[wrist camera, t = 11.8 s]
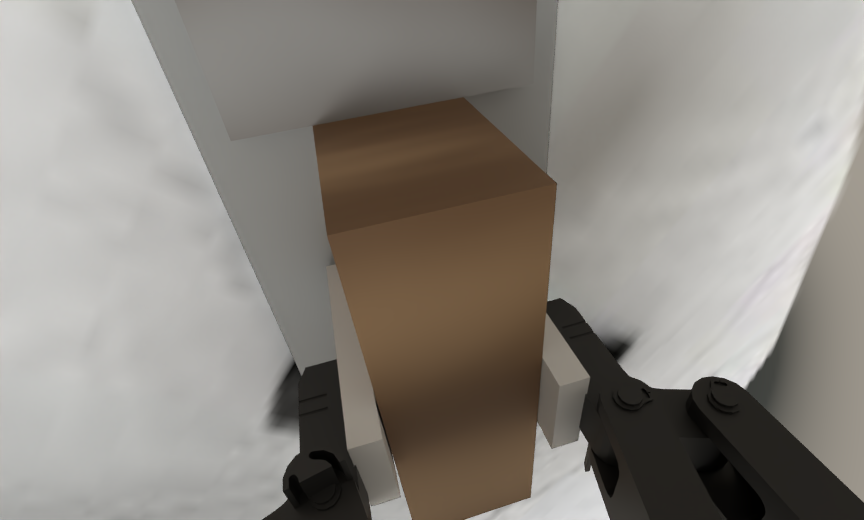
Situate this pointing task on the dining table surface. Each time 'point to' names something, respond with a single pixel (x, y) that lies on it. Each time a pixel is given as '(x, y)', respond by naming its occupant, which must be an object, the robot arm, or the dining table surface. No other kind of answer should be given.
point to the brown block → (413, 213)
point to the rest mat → (310, 175)
